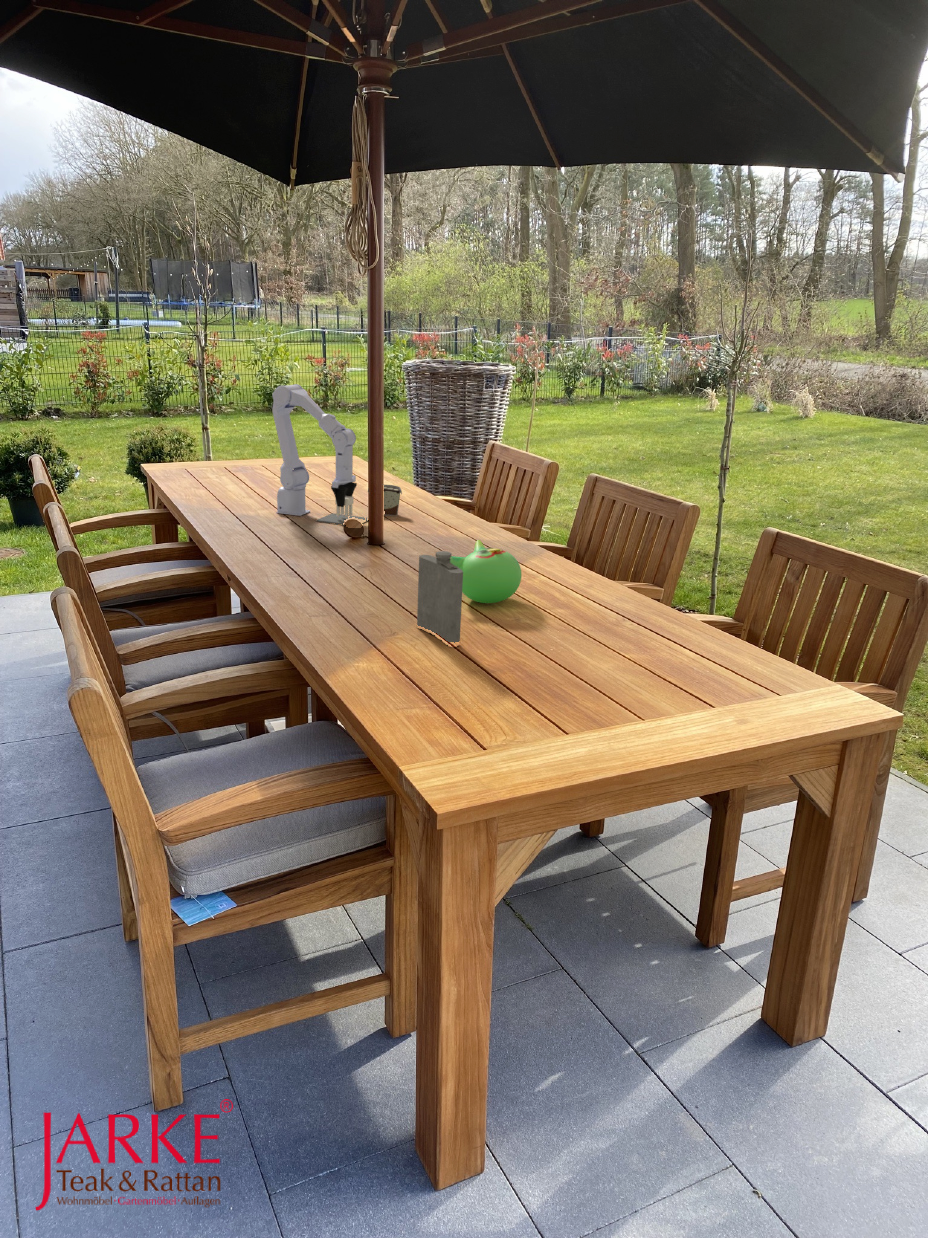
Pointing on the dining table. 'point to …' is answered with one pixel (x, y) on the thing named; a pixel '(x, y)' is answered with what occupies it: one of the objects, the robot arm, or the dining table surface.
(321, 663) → the dining table surface
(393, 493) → the food container
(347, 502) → the cream block with pegs
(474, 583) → the toy bird
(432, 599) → the hip flask
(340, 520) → the mat
